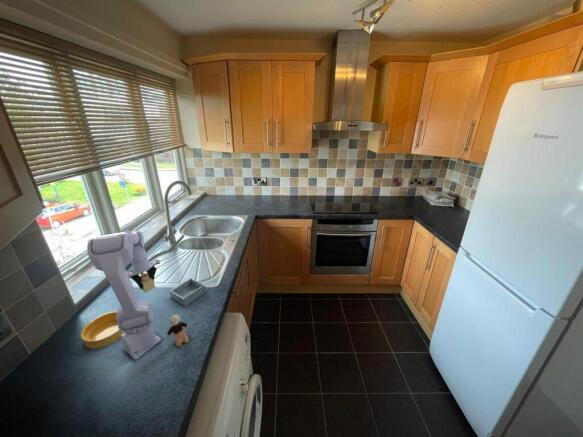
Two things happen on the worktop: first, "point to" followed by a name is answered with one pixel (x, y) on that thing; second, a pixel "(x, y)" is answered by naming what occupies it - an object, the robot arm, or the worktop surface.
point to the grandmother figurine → (178, 330)
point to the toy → (147, 282)
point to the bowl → (101, 331)
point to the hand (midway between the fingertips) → (147, 285)
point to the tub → (187, 291)
